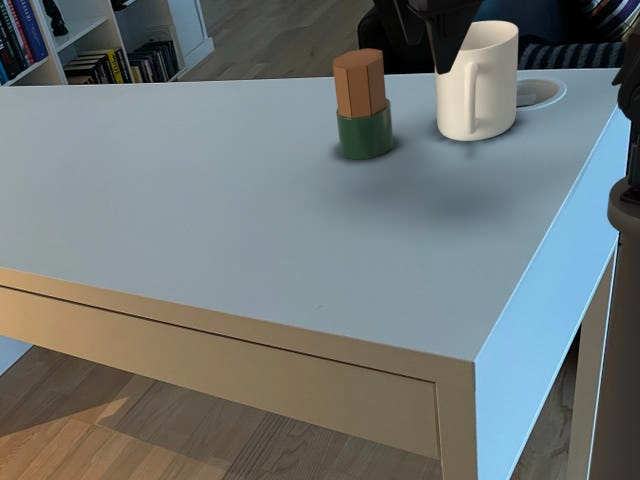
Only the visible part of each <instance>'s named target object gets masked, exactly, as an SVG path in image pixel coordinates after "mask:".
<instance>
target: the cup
mask: <svg viewBox="0 0 640 480" xmlns="http://www.w3.org/2000/svg"><path fill="white" fill-rule="evenodd" d="M518 56H519V28H518V26H517V25H516V24H515V23H512V22H510V21H505V20H482V21H475V22H474V21H473V22H472V24H471V26H470V28H469V30H468V33H467V35H466V37H465V39H464V41H463V44H462V46H461V48H460V50H459V53H458V55H457V57H456V60H455V62H454V64H453V66H452V69H451V71H450V72H449V73H446V74H442V75H439V74H438V73H437V71H436V67H435V66H434V79H435V80H434V81H435V105H436V123H437V129H438V131H439V132H440V134H441V135H442V136H444V137H446V138H448V139H450V140H454V141H460V142H461V141H462V142H473V141H480V140H486V139H490V138H493V137H496V136H499V135H501V134H503V133H505V132H507V131H508V130H509V129H510V128H511V127H512V125H513V124H514V123H515V120H516V116H517V94H518V93H517V90H518V62H519V61H518V60H519V59H518V58H519V57H518Z"/></svg>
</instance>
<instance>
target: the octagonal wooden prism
mask: <svg viewBox="0 0 640 480" xmlns="http://www.w3.org/2000/svg"><path fill="white" fill-rule="evenodd" d="M384 69H385V68H384V56H383V50H380V49H376V48H361V49H356V50H350V51H347V52H345V53H343V54H341V55H340V56H337V57H335V58H334V59H333V62H332V71H333V79H334V80H333V81H334V87H335V95H336V104H337V109H338V113H339V115H341V116H345V117H349V118H358V117H364V116H370V115H373V114H375V113H377V112H379V111H380V110H382V109H384V108H385V107H386V98H387V93H386V82H385V71H384Z"/></svg>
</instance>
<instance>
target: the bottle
mask: <svg viewBox="0 0 640 480" xmlns="http://www.w3.org/2000/svg"><path fill="white" fill-rule="evenodd" d="M335 115H336V122H337V132H338V139H339V147H340V154H341V155H342V156H343V157H345V158H347V159H351V160H369V159H372V158H376V157H380V156H382V155H384V154H386V153H387V152H390V150H391V149H392V148H393V146H394V134H393V133H394V132H393V118H392V106H391V101H390V99H389V98H387V97H386V107H385V108H384V109H382V110H380V111H379V112H377V113H375V114H373V115H370V116H364V117H358V118H349V117H345V116H341V115H339V113H338V108H337V109H336V112H335Z"/></svg>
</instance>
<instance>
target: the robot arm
mask: <svg viewBox="0 0 640 480" xmlns="http://www.w3.org/2000/svg"><path fill="white" fill-rule="evenodd" d="M392 1H393V3H394V7H395V9H396V13H397V16H398V19H399V21H400V24H401V28H402V31H403V34H404V37H405V40H406V43H407V45H408V46H415V45H418V44H419V43H420V42H421V39H422V36H423V32H424V28H425V25H426V30H427V31H426V32H427V37H428V39H429V44H430V49H431V54H432V58H433V63H434V68H435V67H436V71H437V73H438V74H439V75H442V74H446V73H449V72H450V71H451V69H452V66H453V64H454V62H455V60H456V57H457V55H458V53H459V50H460V48H461V46H462V44H463V41H464V39H465V37H466V35H467V33H468V30H469V28H470V26H471V24H472V23H474V20H475V18H476V16H477V14H478V12H479V10H480V9H481V6H482V4H483V3H484V2H485V1H486V0H392ZM619 85H620V86H619ZM611 86H613V87H616V86H619V88H618V91H617V96H616V102H617V108H618V109H619V110H620V111H621V112H622V113H623V115H624V117H625V118H626V119H627V120H628V121H630V122H631V123H633V124H634V126H635V127H636V130H637V140H636V141H635V142H633V143H632V144H631V150H630V159H629V166H628V174H627V175H628V181H627V182H628V185H630V186H631V187H630V188H628V189H627V190H625V191H624V192H623V193H621V194H620V201H623V202H627V203H630V204H634V205H637V206H640V17H639V19H638V20H637V21H636V23H635V25H634V26H633V28H632V30H631V31H630V33H629V34H628V37H627V41H626V44H625V51H624V59H623V63H622V64H621V67H620V68H619V69H618V72H617V73H616V75H615V76H614V77H613V80H612V81H611Z"/></svg>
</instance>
